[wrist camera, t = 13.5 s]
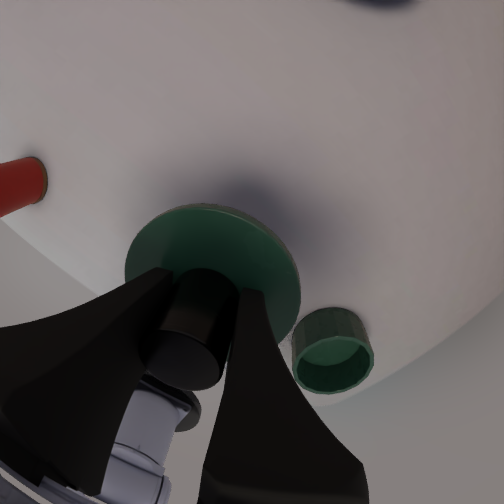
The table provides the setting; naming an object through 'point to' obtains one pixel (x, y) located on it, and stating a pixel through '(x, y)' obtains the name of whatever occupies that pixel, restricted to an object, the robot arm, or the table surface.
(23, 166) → the can
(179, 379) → the lid
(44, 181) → the coaster
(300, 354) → the green pot
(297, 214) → the table surface
